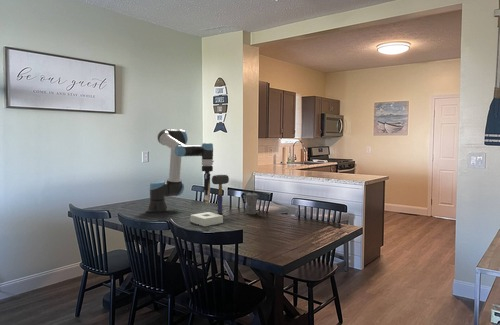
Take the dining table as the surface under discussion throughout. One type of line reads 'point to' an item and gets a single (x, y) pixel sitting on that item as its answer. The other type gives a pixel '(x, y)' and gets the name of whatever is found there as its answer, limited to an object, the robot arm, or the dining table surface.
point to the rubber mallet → (220, 188)
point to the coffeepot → (250, 202)
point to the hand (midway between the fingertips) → (206, 199)
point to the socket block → (206, 219)
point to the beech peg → (209, 194)
